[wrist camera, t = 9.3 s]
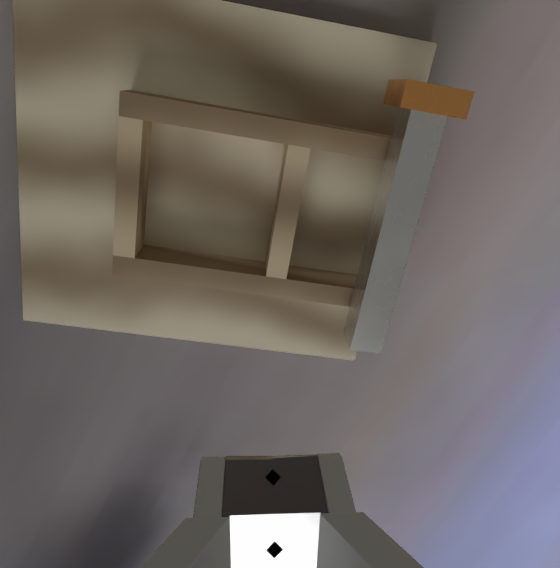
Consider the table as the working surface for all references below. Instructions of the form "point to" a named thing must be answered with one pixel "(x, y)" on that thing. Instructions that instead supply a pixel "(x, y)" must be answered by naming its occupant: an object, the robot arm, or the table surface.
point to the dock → (200, 167)
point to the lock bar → (399, 203)
